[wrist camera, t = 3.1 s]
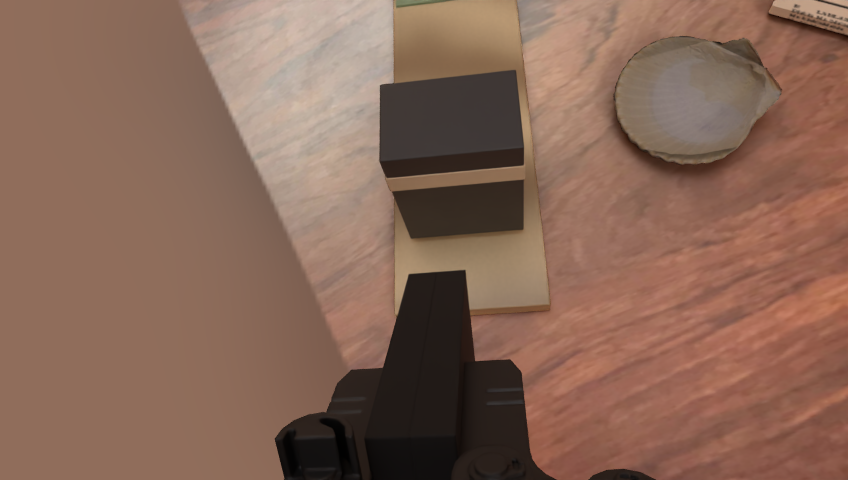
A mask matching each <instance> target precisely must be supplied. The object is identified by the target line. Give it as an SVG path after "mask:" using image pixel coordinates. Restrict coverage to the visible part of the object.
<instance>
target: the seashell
mask: <svg viewBox="0 0 848 480" xmlns="http://www.w3.org/2000/svg"><path fill="white" fill-rule="evenodd" d="M615 89H616V90H615V93H614V100H615V111H616V112H617V116H618V122H620V123H621V129H622V131H623V132H624V133H627V134H628V138H629V140H630V141H631V142H632V143H636V145H637V147H638V148H639V149H640V150H642V151H644V152H648V153H649V155H650V156H652V157H655V158H660V159H662V160H663V161H665V162H675V163H676V164H679V165H683V164H692V165H696V164H699V163H702V162H704V163H710V162H713V161H714V160H716V159H717V160H719V159H723V158H724V157H725V156H726V155H728V154H729V153H731V152H733V151H734V150H735V149H737V148H738V147H739V146H740V145H741V144H742V142H743V141H744V140H745V138H746V137H747V135H748V134H749V133H750V131H751V130H752V128H753V125H754V123H755V121H756V120H758V119H759V118H760V117H761V116H762V115H764V114H765V113H766V111H767V110H768V108H769V107H770V106H772V105H773V104H774V103H775V102H776V101H777V100H778V99H779V96H780V95H781V92H782V89H781V88H780V86H779V84H778V83H777V81H776V80H775V79H774V77H773V76H772V74H771V73H770V72H769V71H768V70H767V68H765V67H764V66H763V64H762V62H761V59H760V57H759V55H758V53H757V51H756V49H755V48H754V46H753V45H752V43H751V42H750V41H749V40H748V39H745V38H742V39H739V40H732V41H729V42H726V43H723V44H722V43H720V42H714V41H708V40H705V39H699V38H694V37H689V36H679V37H669V38H665V39H660V40H658V41H655V42H653V43H651V44H650V45H648V46H646V47H644V48H642V49H641V50H640V51H639V52H637V53H636V54H634V56H633V57H632V58H631V59H630V60H629V61H628V63H627V65H626V66H625V68H624V69H623V70H622V72H621V74H620V76H619V79H618V81H617V83H616V87H615Z"/></svg>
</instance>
